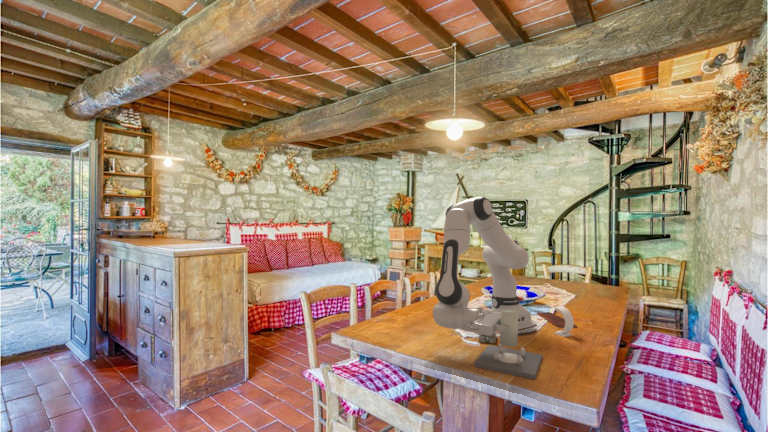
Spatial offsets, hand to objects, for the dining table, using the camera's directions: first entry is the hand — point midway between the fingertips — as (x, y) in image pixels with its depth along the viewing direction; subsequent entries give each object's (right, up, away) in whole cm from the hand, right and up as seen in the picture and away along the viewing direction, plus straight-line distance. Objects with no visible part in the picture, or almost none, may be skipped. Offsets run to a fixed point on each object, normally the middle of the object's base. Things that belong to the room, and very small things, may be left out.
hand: (511, 326), depth 132 cm
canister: (-1, -7, 0) cm, 7 cm away
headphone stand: (+34, -13, +30) cm, 48 cm away
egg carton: (-2, -14, +26) cm, 29 cm away
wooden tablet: (+41, -14, +54) cm, 69 cm away
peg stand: (-1, -13, +1) cm, 13 cm away
